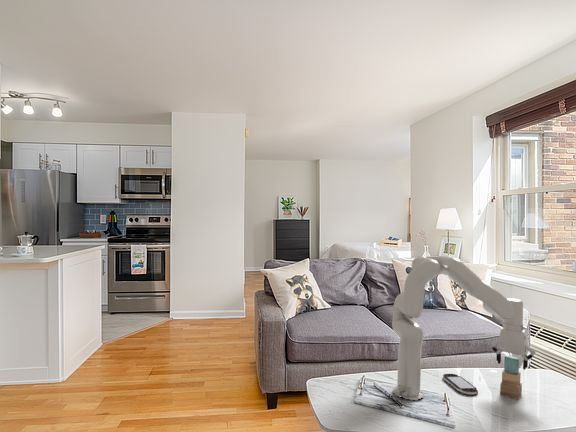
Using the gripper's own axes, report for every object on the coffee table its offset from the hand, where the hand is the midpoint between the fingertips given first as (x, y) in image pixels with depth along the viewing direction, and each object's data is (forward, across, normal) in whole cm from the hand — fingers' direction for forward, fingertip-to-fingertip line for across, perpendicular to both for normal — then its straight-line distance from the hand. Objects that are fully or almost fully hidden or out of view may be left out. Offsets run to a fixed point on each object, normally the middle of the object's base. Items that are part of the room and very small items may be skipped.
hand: (511, 365), depth 165 cm
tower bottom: (+13, 0, 0) cm, 13 cm away
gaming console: (+13, +20, +7) cm, 25 cm away
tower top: (+8, 0, 0) cm, 8 cm away
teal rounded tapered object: (+3, 0, 0) cm, 3 cm away
